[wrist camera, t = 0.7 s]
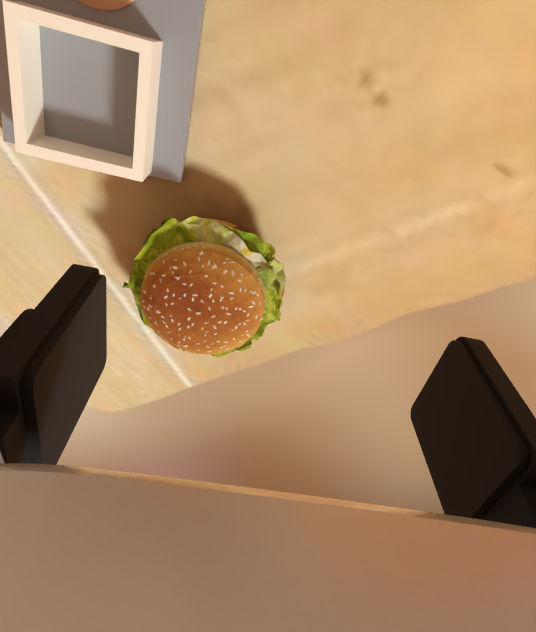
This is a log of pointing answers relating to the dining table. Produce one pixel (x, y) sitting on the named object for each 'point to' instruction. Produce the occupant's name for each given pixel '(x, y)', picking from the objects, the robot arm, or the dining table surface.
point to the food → (207, 285)
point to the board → (101, 82)
